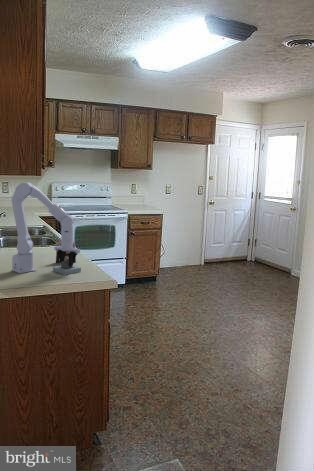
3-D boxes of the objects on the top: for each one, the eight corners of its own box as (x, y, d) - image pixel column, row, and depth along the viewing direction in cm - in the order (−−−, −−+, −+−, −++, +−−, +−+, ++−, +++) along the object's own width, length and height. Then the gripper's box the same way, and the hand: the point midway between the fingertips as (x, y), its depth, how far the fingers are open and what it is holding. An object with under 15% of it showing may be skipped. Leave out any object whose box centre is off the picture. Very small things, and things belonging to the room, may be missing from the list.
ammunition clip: (75, 261, 231) (75, 240, 229) (75, 262, 229) (76, 241, 227) (55, 262, 226) (55, 241, 224) (56, 263, 225) (56, 241, 223)
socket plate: (64, 274, 202) (64, 270, 202) (52, 270, 209) (52, 266, 208) (80, 271, 210) (81, 267, 209) (69, 267, 216) (69, 264, 216)
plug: (67, 272, 206) (67, 259, 205) (60, 271, 208) (61, 258, 207) (72, 271, 210) (72, 257, 209) (65, 270, 212) (66, 256, 210)
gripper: (50, 238, 206) (50, 265, 208) (74, 241, 200) (74, 269, 202) (59, 236, 212) (59, 262, 214) (82, 239, 206) (82, 266, 208)
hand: (66, 265), depth 209 cm, fingers open, 4 cm apart
